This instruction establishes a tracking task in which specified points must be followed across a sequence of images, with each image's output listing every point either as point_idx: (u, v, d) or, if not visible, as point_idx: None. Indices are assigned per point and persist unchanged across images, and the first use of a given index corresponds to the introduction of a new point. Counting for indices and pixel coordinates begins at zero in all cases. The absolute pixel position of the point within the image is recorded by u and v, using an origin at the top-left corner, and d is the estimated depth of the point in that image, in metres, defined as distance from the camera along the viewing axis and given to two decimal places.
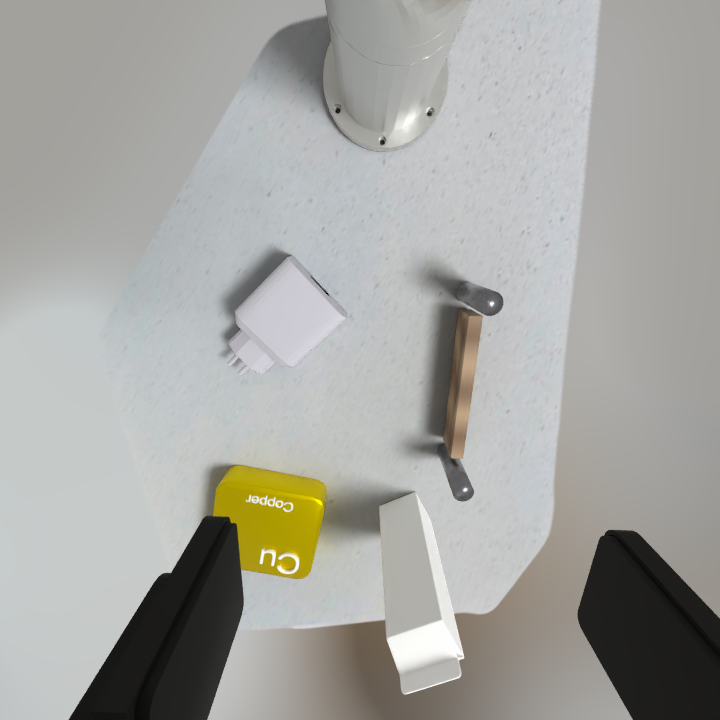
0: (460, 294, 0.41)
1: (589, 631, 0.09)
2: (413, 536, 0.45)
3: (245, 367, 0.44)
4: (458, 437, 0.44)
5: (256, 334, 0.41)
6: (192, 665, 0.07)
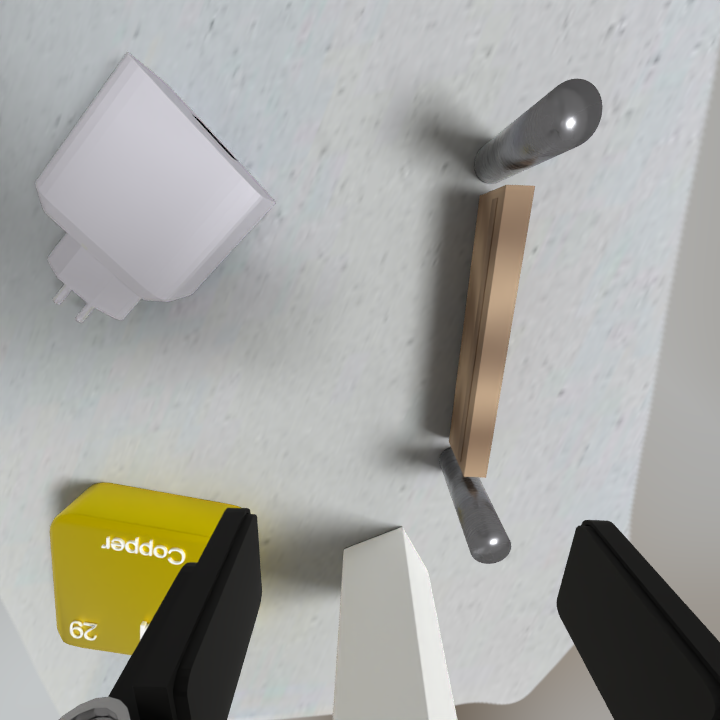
0: (485, 155, 0.21)
1: (567, 618, 0.09)
2: (395, 619, 0.25)
3: (86, 306, 0.24)
4: (478, 439, 0.23)
5: (81, 229, 0.20)
6: (220, 648, 0.07)
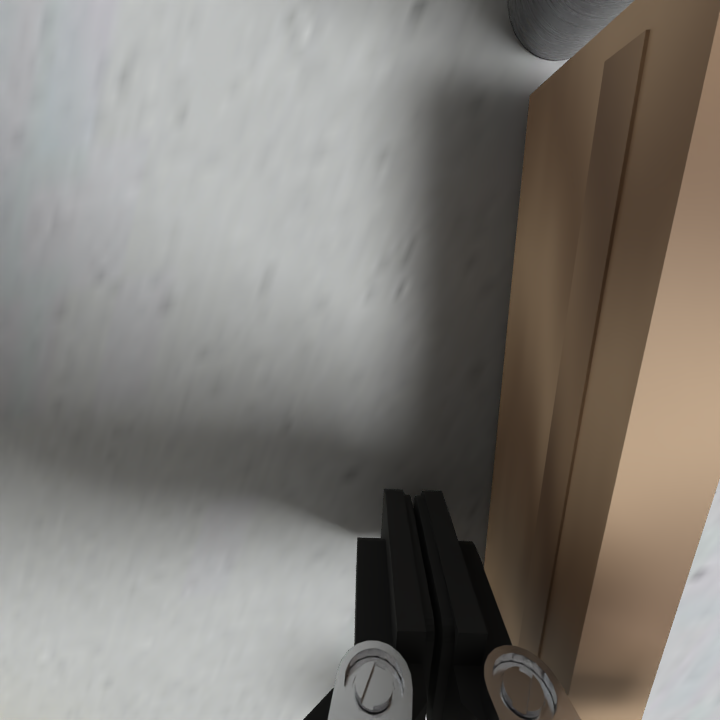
0: None
1: None
2: None
3: None
4: None
5: None
6: None
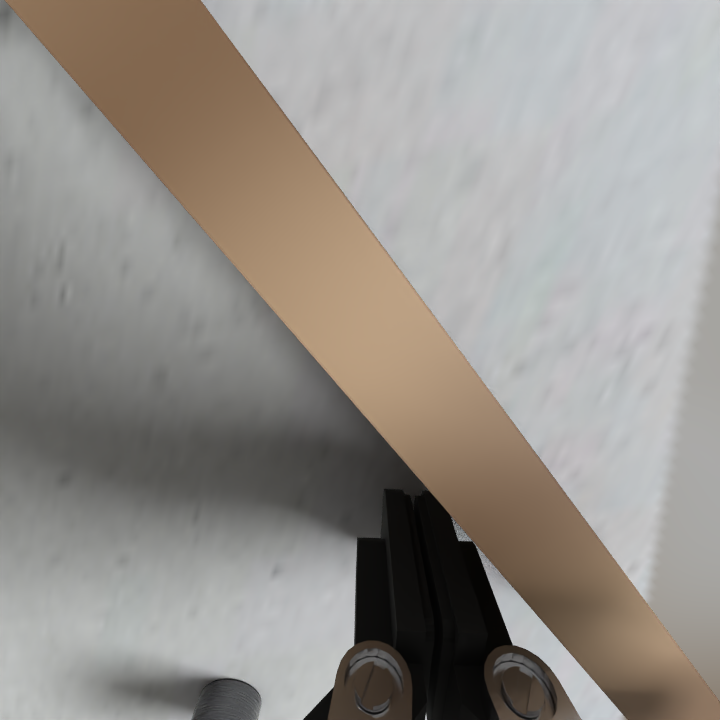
0: None
1: None
2: None
3: None
4: None
5: None
6: None
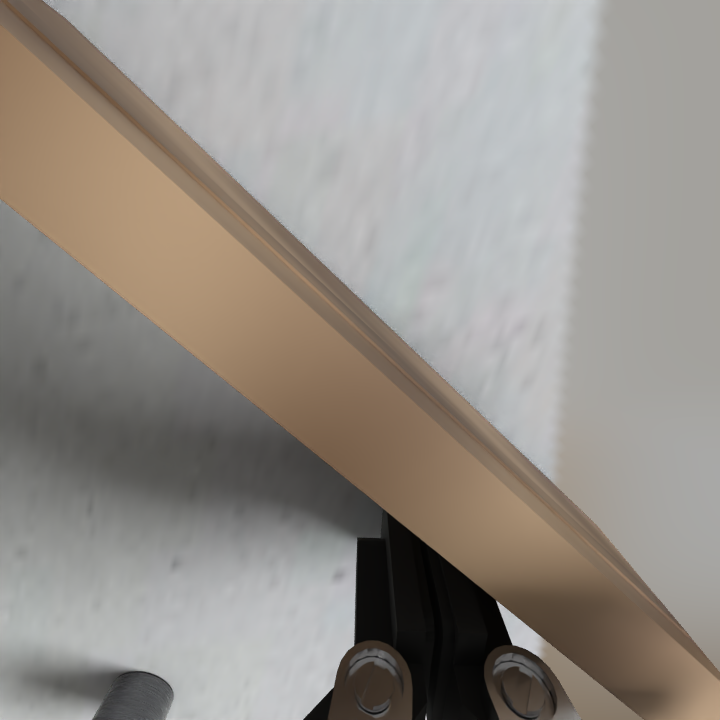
0: None
1: None
2: None
3: None
4: (613, 653, 0.06)
5: None
6: None
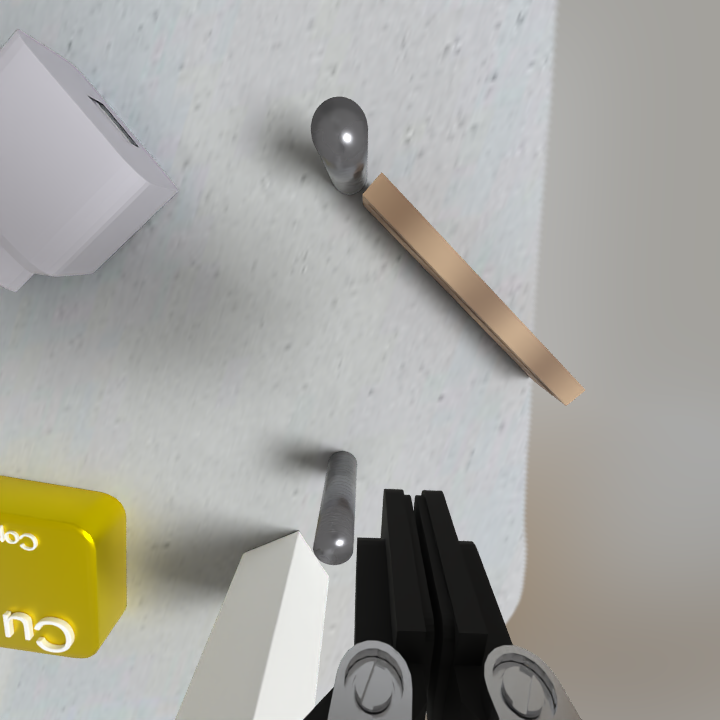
0: None
1: None
2: (260, 621, 0.25)
3: None
4: (544, 369, 0.22)
5: None
6: None
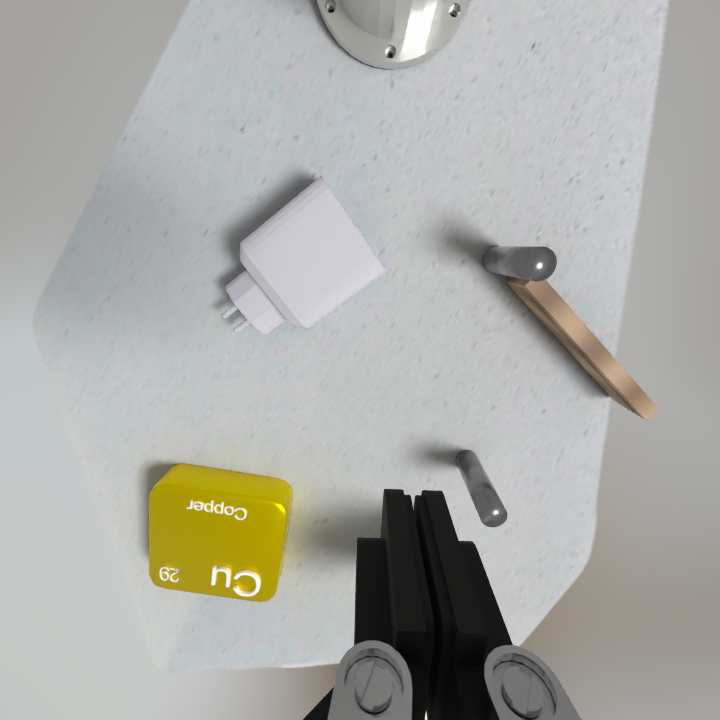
0: (490, 260, 0.32)
1: None
2: None
3: (244, 323, 0.34)
4: (633, 395, 0.33)
5: (265, 277, 0.30)
6: None
